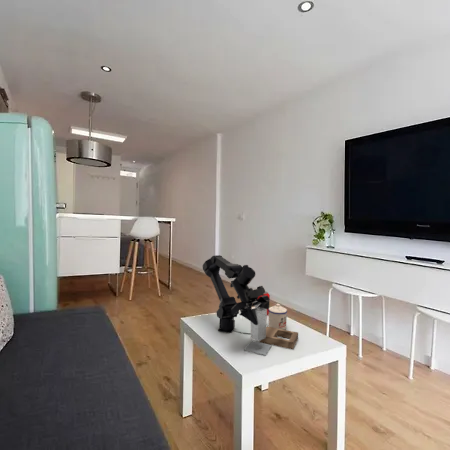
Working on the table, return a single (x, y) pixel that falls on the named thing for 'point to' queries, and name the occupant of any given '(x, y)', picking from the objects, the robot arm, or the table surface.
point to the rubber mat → (258, 348)
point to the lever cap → (259, 324)
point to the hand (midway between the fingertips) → (261, 323)
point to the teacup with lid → (277, 317)
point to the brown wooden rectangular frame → (273, 340)
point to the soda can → (267, 302)
